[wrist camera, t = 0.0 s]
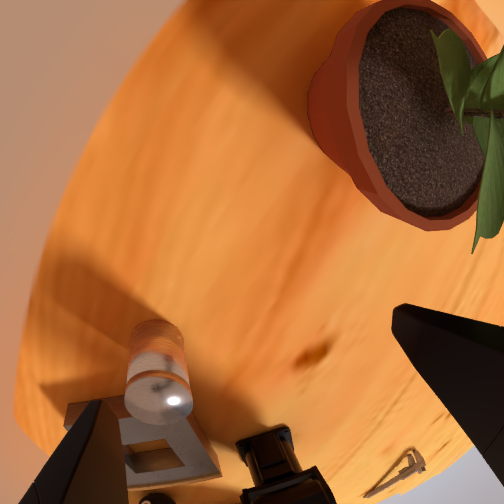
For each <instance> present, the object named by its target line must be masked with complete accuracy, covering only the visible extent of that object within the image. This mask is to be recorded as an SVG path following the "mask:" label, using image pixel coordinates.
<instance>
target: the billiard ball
mask: <svg viewBox="0 0 504 504" xmlns="http://www.w3.org/2000/svg"><path fill="white" fill-rule="evenodd" d="M139 504H176V503H175V502H174V501H173V500H172V499H171V498H169V497H168V496H165V495H161V494H151V495H147V496H145V497H144V498H142V499H141V501H140V502H139Z"/></svg>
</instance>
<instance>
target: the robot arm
mask: <svg viewBox="0 0 504 504" xmlns="http://www.w3.org/2000/svg"><path fill="white" fill-rule="evenodd" d="M391 329H392V333H393V335H394V337H395V338H396V340H397V341H398V343H399V344H400V346H401V347H402V349H403V351H404V352H405V354H406V355H407V357H408V358H409V360H410V361H411V363H412V364H413V366H414V367H415V369H416V370H417V371H418V373H419V374H420V375H421V376H422V378H423V379H424V380H425V381H426V383H427V384H428V385H429V386H430V388H431V389H432V390H433V392H434V393H435V394H436V395H437V397H438V398H439V399H440V400H441V402H442V403H443V404H444V406H445V407H446V408H447V409H448V411H449V412H450V413H451V415H452V416H453V417H454V419H455V420H456V421H457V422H458V424H459V425H460V426H461V428H462V429H463V430H464V432H465V433H466V434H467V436H468V437H469V438H470V440H471V441H472V443H473V444H474V445H475V446H476V448H477V449H478V451H479V452H480V454H481V455H482V456H483V458H484V459H485V461H486V462H487V464H488V465H489V466H490V468H491V469H492V471H493V472H494V473H495V475H496V476H497V478H498V479H499V481H500V482H501V484H502V485H503V487H504V327H503V326H501V327H500V326H498V325H494V324H490V323H486V322H481V321H477V320H473V319H469V318H464V317H460V316H456V315H452V314H448V313H444V312H440V311H435V310H431V309H427V308H423V307H419V306H415V305H411V304H407V303H403V304H401V305H399V306H397V307H395V308H394V309H393V315H392V327H391ZM236 446H237V448H238V450H239V452H240V454H241V456H242V458H243V460H244V462H245V464H246V466H247V467H249V470H250V473H251V476H252V479H253V482H254V485H255V487H252V488H249V489H247V488H246V489H242V492H243V494H242V495H241V496H240V499H241V503H242V504H337V503H336V500H335V498H334V495H333V493H332V491H331V489H330V488H329V486H328V484H327V483H326V481H325V480H324V478H323V477H322V475H321V473H320V472H319V470H318V468H317V467H316V466H313V467H311V468H310V469H307V470H305V471H303V470H302V468H301V466H300V464H299V462H298V460H297V458H296V455H295V453H294V447H293V442H292V437H291V432H290V429H289V427H283V428H280V429H277V430H274V431H271V432H268V433H265V434H262V435H259V436H255V437H252V438H249V439H245V440H242V441H239V442H237V443H236ZM18 504H129V501H128V490H127V478H126V465H125V459H124V453H123V447H122V440H121V433H120V426H119V420H118V418H117V416H116V414H115V413H114V411H113V410H112V409H111V407H110V406H109V405H108V403H107V402H106V401H105V400H104V399H95V400H91V401H90V402H89V403H88V405H87V406H86V407H85V409H84V410H83V411H82V413H81V414H80V416H79V417H78V418H77V420H76V421H75V423H74V424H73V425H72V427H71V428H70V430H69V431H68V432H67V434H66V435H65V437H64V438H63V439H62V441H61V442H60V444H59V445H58V446H57V448H56V449H55V451H54V452H53V454H52V455H51V457H50V458H49V460H48V461H47V462H46V464H45V465H44V467H43V468H42V470H41V471H40V473H39V474H38V476H37V477H36V479H35V480H34V483H32V484H31V486H30V488H29V489H28V490H27V492H26V493H25V495H24V496H23V498H22V499H21V501H20V502H19V503H18Z"/></svg>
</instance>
